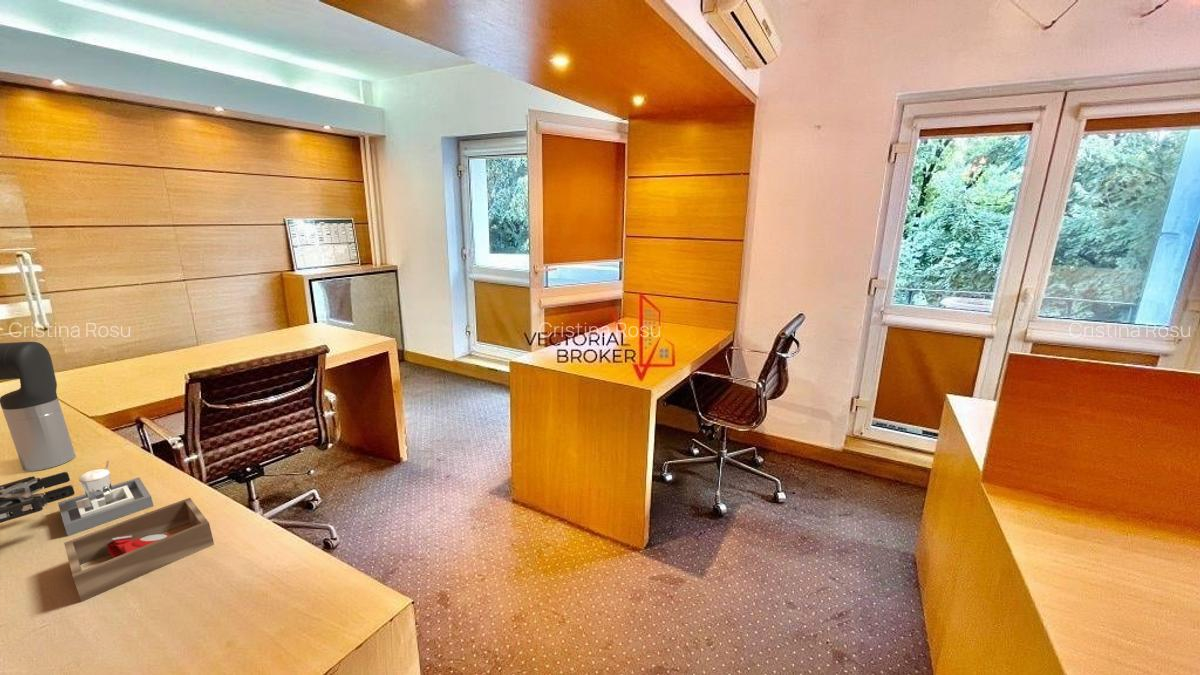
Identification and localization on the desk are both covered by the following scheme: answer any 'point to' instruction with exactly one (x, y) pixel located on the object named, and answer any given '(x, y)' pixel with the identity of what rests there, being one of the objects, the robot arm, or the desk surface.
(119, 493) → the dock box
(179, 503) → the tray
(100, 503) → the milkshake
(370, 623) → the desk surface
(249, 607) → the desk surface
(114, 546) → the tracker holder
